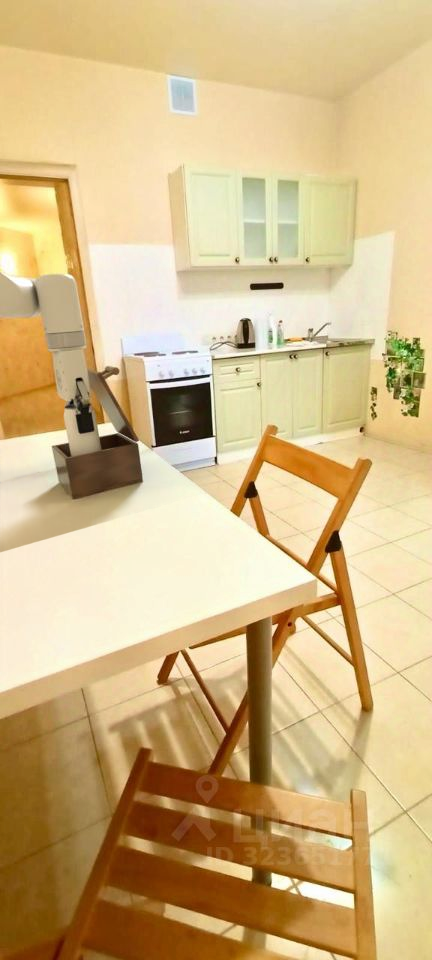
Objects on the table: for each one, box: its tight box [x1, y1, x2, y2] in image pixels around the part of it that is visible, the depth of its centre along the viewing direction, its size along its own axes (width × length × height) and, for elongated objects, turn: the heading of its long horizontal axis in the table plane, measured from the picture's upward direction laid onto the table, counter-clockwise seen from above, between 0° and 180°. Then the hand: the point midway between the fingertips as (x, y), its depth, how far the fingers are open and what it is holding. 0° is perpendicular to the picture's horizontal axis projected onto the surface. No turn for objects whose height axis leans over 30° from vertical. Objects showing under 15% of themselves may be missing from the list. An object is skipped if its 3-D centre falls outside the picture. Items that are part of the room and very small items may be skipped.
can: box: [63, 402, 101, 457], centre depth 96 cm, size 6×6×12 cm
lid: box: [87, 365, 140, 443], centre depth 98 cm, size 16×13×5 cm
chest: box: [51, 432, 144, 500], centre depth 100 cm, size 16×13×9 cm
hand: (81, 428), depth 96 cm, fingers closed on can, 6 cm apart
